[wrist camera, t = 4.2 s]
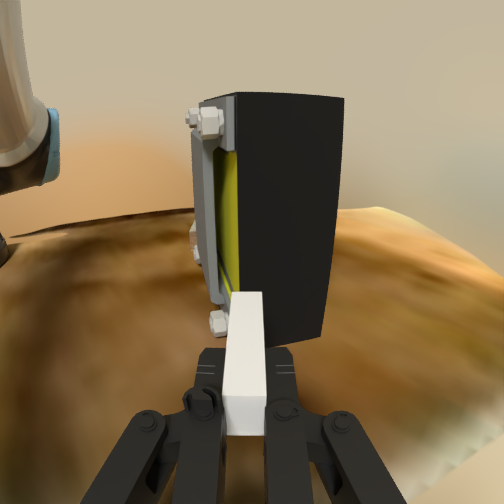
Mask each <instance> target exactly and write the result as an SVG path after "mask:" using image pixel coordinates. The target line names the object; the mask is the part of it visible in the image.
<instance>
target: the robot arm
mask: <svg viewBox="0 0 504 504" xmlns="http://www.w3.org/2000/svg"><path fill="white" fill-rule="evenodd" d="M59 142H60V138H59V114H58V111H57V110H56V109H50V108H47V109H46V107H45V105H44V104H43V103H42V102H41V101H40V100H39V99H38V98H36V97H34V96H33V94H32V89H31V84H30V78H29V73H28V67H27V61H26V55H25V47H24V39H23V30H22V20H21V7H20V0H0V195H4V194H7V193H11V192H14V191H18V190H22V189H25V188H29V187H33V186H41V185H43V184H44V183H47V182H51V181H54V180H55V179H56V178H57V177H58V176H59V172H60V152H59V150H60V149H59V148H60V143H59ZM8 255H9V251H8V248H7V244H6V241H5V239H4V238H3V237H2V235H1V233H0V266H1V265H2V264H3V263H4V262H5V261H6V259H7V258H8ZM182 399H183V403H184V407H185V409H184V410H183V411H181V412H179V413H175V414H170V415H165V416H162V415H161V414H160V413H158V412H157V411H153V410H144V411H141V412H139V413H137V414H136V415H135V416H134V417H133V418H132V419H131V421H130V423H129V424H128V426H127V427H126V429H125V431H124V432H123V434H122V435H121V437H120V439H119V440H118V442H117V443H116V445H115V447H114V448H113V450H112V452H111V453H110V455H109V456H108V458H107V460H106V461H105V463H104V465H103V466H102V468H101V470H100V471H99V473H98V474H97V476H96V478H95V479H94V481H93V483H92V484H91V486H90V488H89V489H88V491H87V493H86V494H85V496H84V497H83V499H82V501H81V502H80V504H157V503H158V501H159V499H160V497H161V495H162V492H163V490H164V488H165V486H166V484H167V482H168V480H169V478H170V476H171V474H172V471H173V469H174V467H175V465H176V463H177V469H176V475H175V482H174V489H173V495H172V502H171V504H224V491H225V472H226V453H227V445H226V433H227V435H264V453H263V456H264V478H265V504H314V503H313V494H312V485H311V476H310V467H309V461H311V462H314V464H315V466H316V469H317V471H318V473H319V475H320V478H321V480H322V482H323V484H324V487H325V489H326V491H327V493H328V496H329V498H330V500H331V502H332V504H407V503H406V501H405V500H404V498H403V496H402V494H401V493H400V491H399V489H398V487H397V486H396V484H395V482H394V481H393V479H392V477H391V475H390V474H389V472H388V470H387V469H386V467H385V465H384V463H383V462H382V460H381V458H380V457H379V455H378V453H377V451H376V450H375V448H374V446H373V445H372V443H371V441H370V439H369V438H368V436H367V434H366V433H365V431H364V429H363V427H362V426H361V424H360V422H359V421H358V419H357V418H356V417H355V416H354V415H353V414H351V413H349V412H346V411H334V412H332V413H330V414H328V416H322V415H317V414H313V413H310V412H308V411H306V410H305V409H304V408H303V407H302V406H301V404H300V403H299V400H298V393H297V386H296V378H295V371H294V364H293V356H292V354H291V353H290V351H289V350H288V349H287V347H273V348H264V327H263V305H262V292H232V294H231V304H230V315H229V325H228V335H227V346H226V348H205V349H204V350H203V352H202V353H201V354H200V356H199V361H198V366H197V373H196V377H195V383H194V387H193V388H191V389H189V390H188V391H187V392H186V393H185V394H184V396H183V398H182ZM177 461H178V462H177Z"/></svg>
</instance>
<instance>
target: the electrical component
mask: <svg viewBox="0 0 504 504" xmlns="http://www.w3.org/2000/svg"><path fill="white" fill-rule="evenodd" d="M343 121H344V98H339V97H330V96H320V95H307V94H292V93H273V92H234V93H230V94H226V95H222V96H219V97H215V98H211V99H207V100H204V102H200V103H199V108H190V109H189V113H186V124H189V127H190V128H194V130H193V131H192V132H191V149H192V172H193V191H194V206H195V222H196V236H197V245H195V246H194V250H193V254H194V260H195V261H196V263H197V264H200V263H201V265H202V269H203V273H204V276H205V280H206V284H207V288H208V292H209V295H210V299H211V302H213V303H215V304H219V306H220V309H221V310H218V311H211V313H210V318H209V324H210V330H211V332H213V335H214V336H215V337H220V336H226V334H227V333H228V325H229V315H230V304H231V294H232V292H262V305H263V327H264V348H270V347H275V346H280V345H285V344H290V343H295V342H299V341H304V340H309V339H313V338H317V337H320V336H321V330H322V324H323V318H324V312H325V305H326V299H327V292H328V285H329V278H330V270H331V263H332V255H333V246H334V238H335V229H336V219H337V209H338V197H339V187H340V174H341V160H342V142H343Z"/></svg>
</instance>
